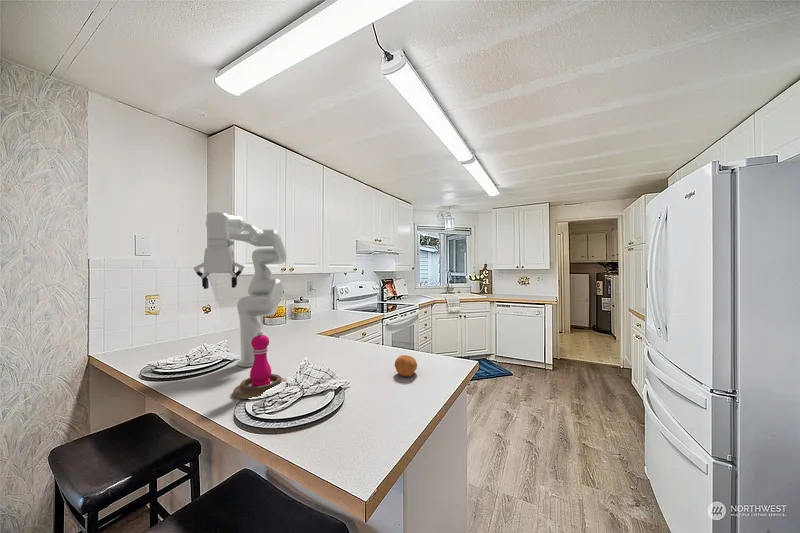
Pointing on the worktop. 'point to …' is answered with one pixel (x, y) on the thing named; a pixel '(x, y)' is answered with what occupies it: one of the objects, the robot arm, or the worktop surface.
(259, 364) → the pepper mill
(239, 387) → the round tray
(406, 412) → the worktop surface
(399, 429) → the worktop surface
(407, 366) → the potato
